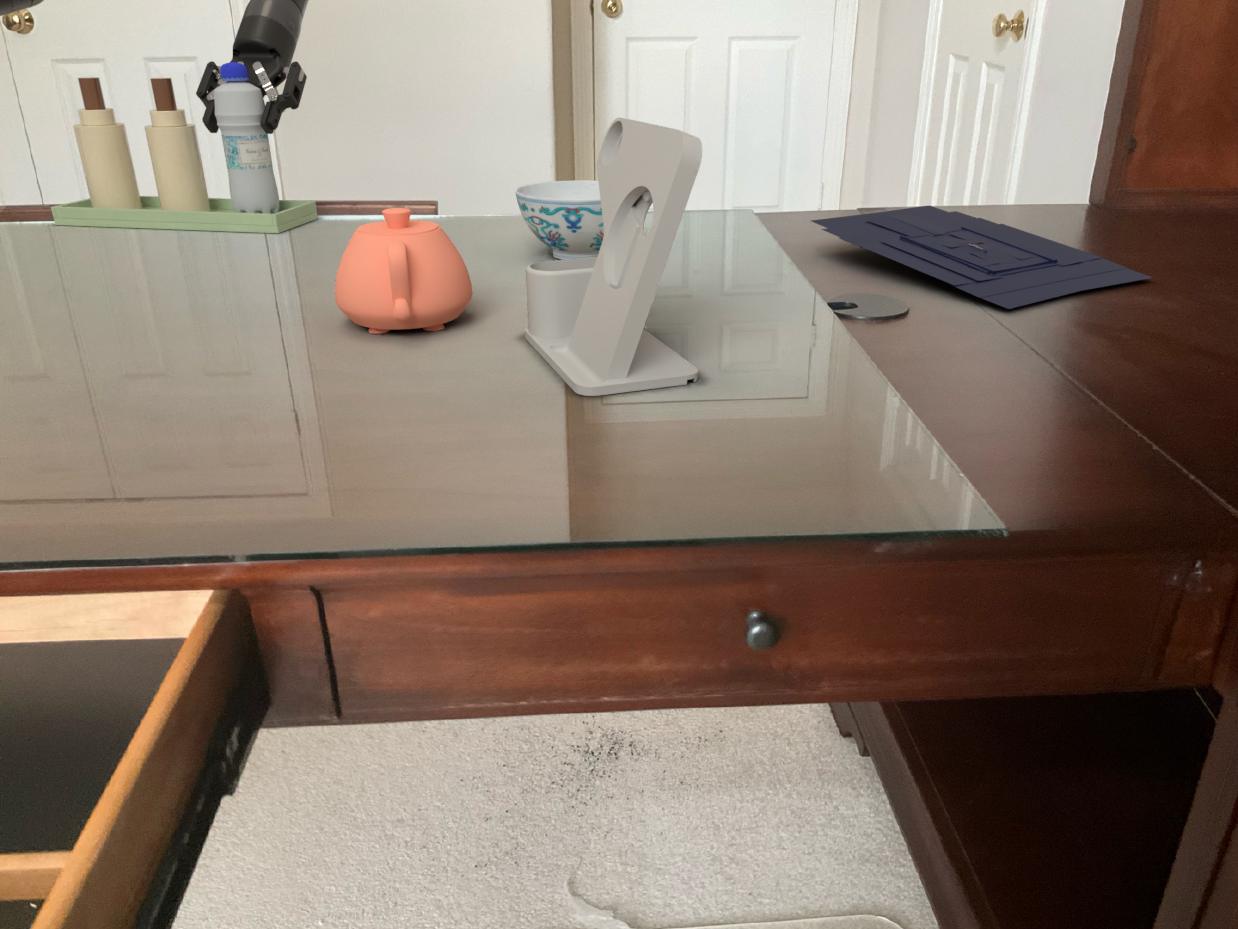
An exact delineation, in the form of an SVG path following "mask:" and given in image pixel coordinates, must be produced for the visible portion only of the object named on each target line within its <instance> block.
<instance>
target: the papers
mask: <svg viewBox="0 0 1238 929" xmlns="http://www.w3.org/2000/svg"><path fill="white" fill-rule="evenodd" d="M810 222H811V223H814V224H816V225H818V226H822V227H824V228H821V231H824V232H826V233H829V234H830V235H832V236H833V235H834V236H835V237H838V239H839V240H842V241H844V242H847V243H849V244H851V245H854V246H855V247H858V248H859V249H860V248H861V249H866V250H868V251H871V252H873V253H876V254H878V255H880V256H882V257H885V258H887V259H890V260H892V261H895V262H897V263H899V264H902V265H904V266H907V267H909V268H911V269H914V270H916V271H918V272H921V273H922V274H923V273H924V274H926V275H929V276H930V277H933V278H936V279H937V280H940V281H943V282H945V283H948V284H949V285H950V286H952V287H955V288H957V289H959V290H961V291H963V292H966V293H968V294H970V295H972V296H975V297H977V298H980V299H982V300H984V301H987V302H989V303H992V304H994V305H998V306H1000V307H1003V308H1005V309H1008V310H1011V309H1014V308H1015V309H1016V308H1019V307H1022V306H1027V305H1031V304H1034V303H1038V302H1042V301H1046V300H1050V299H1053V298H1058V297H1062V296H1066V295H1070V294H1073V293H1078V292H1081V291H1088V290H1093V289H1099V288H1104V287H1109V286H1115V285H1121V284H1127V283H1132V282H1138V281H1144V280H1149V279H1154V277H1152V276H1150V275H1147V274H1144V273H1141V272H1138V271H1136V270H1133V269H1130V268H1128V267H1127V266H1124V265H1122V264H1118V263H1116V262H1113V261H1110V260H1109V259H1106V258H1102V256H1100V255H1097V254H1093V253H1090V252H1087V251H1085V250H1081V249H1079V248H1075V247H1072V246H1069V245H1066V244H1063V243H1061V242H1057V241H1054V240H1053V239H1049V238H1046V237H1043V236H1040V235H1038V234H1034V233H1031V232H1028V231H1025V230H1022V229H1019V228H1016V227H1013V226H1010V225H1007V224H1004V223H997V222H993V221H992V220H991V221H990V220H988V219H985V218H983V217H975V216H972V215H969V214H966V213H963V212H961V211H960V212H959V211H956V210H955V211H947V210H944V209H941V208H938V207H935V206H932V205H929V204H928V205H922V206H914V207H908V208H901V209H893V210H892V209H891V210H885V211H878V212H871V213H861V214H853V215H845V216H837V217H836V216H835V217H830V218H821V219H812V220H810Z"/></svg>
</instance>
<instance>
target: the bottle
mask: <svg viewBox="0 0 1238 929" xmlns="http://www.w3.org/2000/svg"><path fill="white" fill-rule="evenodd" d="M220 72H221V78H222V81H227V82H225V83H224V84H222V85H221V86H219V87H218V88H216V89H215V90H214V103H215V116H216V119H217V125H218V127H219V130H220V134H221V140H222V147H223V152H224V158H225V163H226V169H227V177H228V187H229V195H230V196H229V197H230V199H231V202H232V205H233V207H234V210H235V212H236V213H256V212H257V211H259V212H260V213H265V214H275V213H278V211H279V200H280V196H279V195H280V194H279V190H278V186H277V182H276V176H275V173H274V167H273V160H272V153H271V152H272V151H271V146H270V140H269V134H266V133H265V131H264V130H263V128H262V127H261V125H260V121H261V118H262V115H263V111H264V108H265V105H266V102H265V100H264V98H263V95H262V92H261V89H260V88H258V87H256V86H254V85H252V84H250V83H248V82H246V81H248V80H249V77H248V71H247V68H246V66H245V65H243V64H241V63H236V62H230V61H229V62H226V63H223V64H222V65H221V68H220Z"/></svg>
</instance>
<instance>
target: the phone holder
mask: <svg viewBox="0 0 1238 929" xmlns="http://www.w3.org/2000/svg"><path fill="white" fill-rule="evenodd" d="M702 158H703V144H702V141H701V139H700V138H699V137H698V136H695V135H694V134H693V135H692V134H690V133H687V132H685V131H682V130H680V129H676V128H673V127H668V126H663V125H658V124H653V123H650V122H644V121H639V120H634V119H629V118H625V117H619V116H618V117H616V118H614V119H613V120H612V121H611V123H610V124H609V126H608V128H607V130H606V132H605V135H604V137H603V139H602V143H601V146H600V149H599V152H598V155H597V161H596V174H597V181H598V183H599V191H600V199H601V207H602V216H603V224H604V237H603V241H602V244H601V248H600V251H599V254H598V257H593V258H580V259H567V260H561V259H558V260H557V259H556V260H544V261H537V262H533V263H531V264H529V265H527V266H526V268H525V283H526V284H525V285H526V286H525V287H526V305H527V327H525V328H524V338H525V340H526V341H527V342H528V344H530V345H531V347H533V349H534V350H535V351H536V352H537V353H538V354H539V356H541V357H542V358H543V359H544V361H545V362H546V363H547V364H548V365H549V366H550V368H552V369H553V371H555V373H556V374H557V375H558V376H559V377H560V378H561V379H562V380H563V382H565V383H566V385H567V386H568V387H569V388H570V389H571V390H572V391H573V392H574V393H575V394H577V395H581V396H586V397H599V396H608V395H614V394H622V393H631V392H638V391H645V390H646V391H647V390H654V389H661V388H670V387H676V386H677V387H679V386H685V385H688V381H689V380H690V381H692V382H693V383H696V382H698V379H699V368H698V367H696V366H695V365H694V364H692V363H691V362H689V361H688V360H686V358H684V357H683V356H682V355H680V354H679V353H677V351H674V349H672V348H671V347H669V346H668V345H666V344H665V343H663V342H662V341H661V340H660V339H658V338H657V337H655V336H654V335H653V334H651V333H650V332H649V331H647V330H646V329H645V326H646V323H647V319H648V316H649V314H650V310H651V308H652V305H653V302H654V299H655V297H656V295H657V294H656V293H657V291H658V288H659V284H660V282H661V280H662V276H663V274H664V270H665V268H666V265H667V262H668V259H669V256H670V253H671V250H672V247H673V245H674V242H675V239H676V236H677V233H678V230H679V228H680V225H681V221H682V219H683V216H684V213H685V210H686V208H687V204H688V201H689V199H690V196H691V193H692V190H693V187H694V184H695V182H696V178H697V176H698V174H699V171H700V167H701V163H702ZM651 206H652V222H651V226H650V228H649V230H648V231H647V232H646V234H645V221H646V218H647V214H648V212H649V210H650V207H651Z"/></svg>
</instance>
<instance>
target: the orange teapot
mask: <svg viewBox="0 0 1238 929" xmlns="http://www.w3.org/2000/svg"><path fill="white" fill-rule="evenodd" d="M381 212H382V216H383V218H384V220H381V221H374V222H368V223H365V224H362V225H359V226H358V227H357V228H356V229H355V230H354V232H353V233H352V236H351V237H350V239H349V241H348V244H347V245H346V247H345V250H344V252H343V254H342V255H341V259H340V261H339V264H338V266H337V271H336V276H335V285H334V299H335V303H336V305H337V308H338V309H339V310H340V311H341V312H342V313H343V315H345V316H346V317H347V318H348V319H350V320H351V321H352V323H354V324H356V325H358V326H360V327H361V326H362V327H364V328H369V329H368V333H370V334H377V335H378V334H380V335H381V334H386V333H389V332H391V331H392V330H412V329H421V328H422V330H424V331H427V332H437V331H441V330H444V329H445V325H444V324H446V323H449V322H452V321H454V320H455V319H457V318H458V317H459V316H461V315H462V313H463V312H464V311H465V309H466V308H467V306H468V305H469V303H470V302H471V301H472V297H473V285H472V284H473V283H472V280H471V276H470V274H469V270H468V268H467V266H466V263H465V261H464V259H463V257H462V255H461V253H460V251H459V250H458V249H457V247H456V246H455V244H454V243H453V241H452V240H451V239H450V237H449V236H448V234H447V233H446V232H445V230H443V228H442V227H441V226H440V224H438V223H436V222H434V221H428V220H422V219H410V217H411V214H412V210H411V209H409V208H407V207H389V208H386V209H383V210H381Z"/></svg>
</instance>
